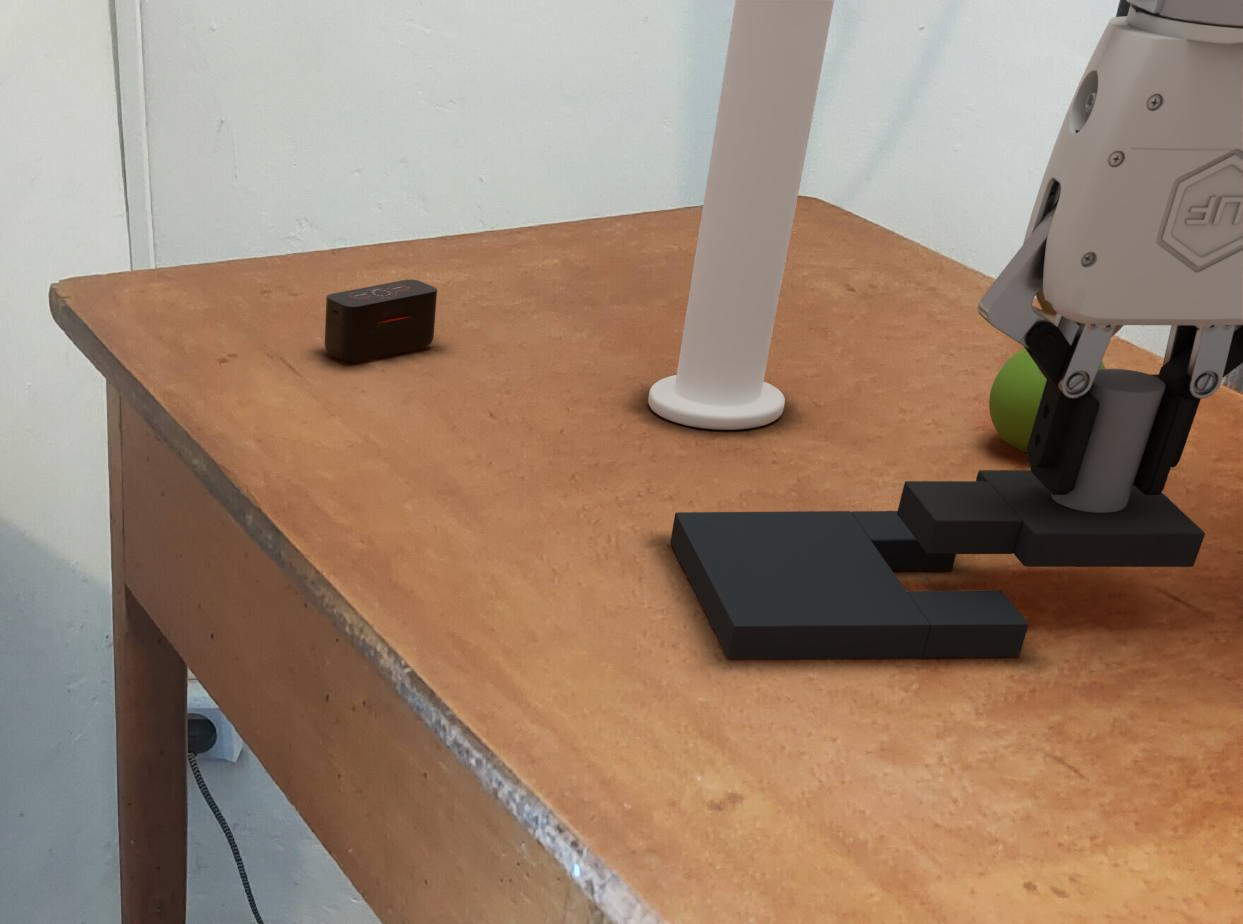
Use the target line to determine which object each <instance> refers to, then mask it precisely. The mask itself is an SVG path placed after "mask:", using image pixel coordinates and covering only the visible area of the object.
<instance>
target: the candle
mask: <svg viewBox="0 0 1243 924" xmlns="http://www.w3.org/2000/svg"><path fill="white" fill-rule="evenodd" d="M834 4H835V0H734V6H733V12H732V18H731V19H732V20H731V26H730V33H729V37H728V44H727V45H728V46H727V51H726V58H725V63H724V70H723V71H724V72H723V76H722V84H721V88H720V89H721V90H720V96H719V103H718V108H717V113H716V114H717V115H716V121H715V128H714V135H713V140H712V146H711V147H712V148H711V154H710V159H709V161H710V162H709V165H708V166H709V167H708V172H707V180H706V186H705V191H704V199H703V204H702V211H701V217H700V224H699V229H698V235H697V243H696V250H695V256H694V260H693V261H694V262H693V268H692V276H691V280H690V286H689V293H688V294H689V295H688V300H687V308H686V313H685V319H684V325H683V331H682V340H681V345H680V352H679V358H678V365H677V370H676V374H674V375H670V376H666V377H663V378H661V379H660V380H658V381H656V382H654V383H653V385H652V386H651V387H650V389H649V392H648V397H647V403H648V406H649V408H650V409H651V411H652V412H654V413H655V414H656V415H658V416H660V417H661V418H663V419H665V420H667V421H670V422H673V423H676V424H680V425H684V426H686V427H693V428H697V429H706V430H717V431H718V430H719V431H720V430H722V431H734V430H735V431H736V430H738V431H739V430H747V429H754V428H759V427H763V426H766V425H769V424H771V423H773V422H775V421H776V420H778V419H779V418H780V417H781V416H782V415H783V412H784V409H785V404H786V398H785V395H784V394H783V392H782V391H781V390H779V388H778V387H776V386H775V385H772V384H771V383H768V382H766V381H764V380H765V376H766V370H767V365H768V359H769V354H770V348H771V342H772V337H773V331H774V326H775V321H776V316H777V311H778V304H779V299H780V295H781V288H782V282H783V278H784V274H785V273H784V272H785V267H786V263H787V262H786V261H787V258H788V257H787V256H788V251H789V247H790V241H791V235H792V231H793V224H794V219H795V214H796V208H797V203H798V197H799V192H800V186H801V181H802V175H803V171H804V166H805V160H806V156H807V155H806V154H807V150H808V149H807V148H808V143H809V137H810V132H811V127H812V122H813V117H814V111H815V106H816V100H817V95H818V89H819V84H820V79H821V73H822V69H823V63H824V58H825V51H826V48H827V41H828V36H829V29H830V25H831V20H832V14H833V9H834Z"/></svg>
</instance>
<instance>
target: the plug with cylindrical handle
mask: <svg viewBox="0 0 1243 924" xmlns="http://www.w3.org/2000/svg"><path fill="white" fill-rule="evenodd" d="M1150 374H1151V373H1146V372H1143V371H1137V370H1132V369H1124V368H1106V369H1101V370H1098V371H1097V374H1096V376H1095V379H1094V383H1093V387H1092V390H1091V393H1090V394H1091V395H1093V396H1094V397H1095V398H1096V399H1097V400H1098V401H1099V409H1098V413H1097V416H1096V419H1095V423H1094V426H1093V429H1092V432H1091V436H1090V439H1089V442H1088V445H1087V448H1086V452H1085V455H1084V458H1083V461H1082V465H1081V468H1080V471H1079V474H1078V478H1077V481H1076V484H1075V487H1074V489H1073V491H1071V492H1069V493H1068V494H1067V495H1053V494H1052V493H1051V492H1050V491H1049V490H1048V489H1047V488H1046V487H1045V486H1044V485H1043V484H1042V483H1041V482H1040V481H1039V480H1038V479H1037V478H1036V477H1035V476H1034V474H1033V473H1032V472H1031V469H979V470H978V471H977V475H976V478H975V480H964V481H963V480H918V481H917V480H906V481H904V483H903V488H902V493H901V494H900V495H901V496H900V498H899V499H900V500H899V504H898V507H897V510H896V511H897V515H898V516H899V517H900V519H901V520H902V521H903V523H904V524H905V525H906V526H907V528H908V529H909V530H910V532H911V533H912V534H913V536H914V537H915V538H916V540H917V541H918V542H919V543H920V545H921V546H922V547H923V549H924V550H925V551H926V553H927V554H956V555H1014V556H1015V558H1017V560H1018V561H1019V562H1020V563H1021V565H1022V566H1023V567H1025V568H1064V567H1065V568H1066V567H1067V568H1193V567H1194V566H1195V564H1196V561H1197V558H1198V556H1199V553H1200V550H1201V547H1202V545H1203V542H1204V538H1205V536H1206V532H1205V531H1204V530H1203V529H1202V528H1201V527H1199V525H1197V523H1196V522H1195V521H1193V520H1192V519H1191V518H1190V517H1189V516H1188V515H1187V514H1186V513H1184V512H1183V511H1182V510H1181V509H1180V508H1179V507H1178V506H1177V505H1176V504H1175V503H1174V502H1173V501H1172V500H1171V499H1169V497H1167V496H1166V495H1165V494H1164V493H1163V492H1162V493H1161V494H1160V495H1145V494H1144V493H1143V492H1141V491H1140V490H1139V489H1138V488H1137V487H1135V486H1134V485H1133V484H1134V481H1135V478H1136V475H1137V472H1138V469H1139V466H1140V463H1141V460H1142V457H1143V454H1144V451H1145V448H1146V445H1147V442H1148V439H1149V436H1150V433H1151V429H1152V426H1153V423H1154V420H1155V417H1156V414H1157V411H1158V408H1159V405H1160V402H1161V399H1162V396H1163V393H1164V390H1165V383H1164V382H1163V381H1162V380H1161V379H1159V378H1157V377H1155V376H1152V375H1150Z"/></svg>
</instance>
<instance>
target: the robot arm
mask: <svg viewBox="0 0 1243 924" xmlns="http://www.w3.org/2000/svg"><path fill="white" fill-rule="evenodd" d="M1125 1H1126V3H1129V4H1130V5H1129V9H1128V12H1127V15H1126V16H1114V17H1111V18H1110V19H1109V20H1108V23H1107V25H1106V26H1105V29H1104V30H1103V32H1102V34H1101V36H1100V38H1099V40H1098V43H1097V44H1096V46H1095V48H1094V51H1093V53H1092V55H1091V57H1090V59H1089V61H1088V63H1087V65H1086V67H1085V69H1084V72H1083V74H1082V76H1081V78H1080V81H1079V82H1078V85H1077V87H1076V90H1075V92H1074V94H1073V97H1072V99H1071V101H1070V104H1069V107H1068V109H1067V112H1066V114H1065V116H1064V119H1063V121H1062V124H1061V127H1060V129H1059V132H1058V134H1057V137H1056V140H1055V142H1054V145H1053V148H1052V151H1051V153H1050V156H1049V159H1048V163H1047V165H1046V168H1045V170H1044V174H1043V176H1042V179H1041V183H1040V186H1039V189H1038V191H1037V195H1036V198H1035V201H1034V205H1033V207H1032V211H1031V213H1030V214H1031V215H1030V218H1029V220H1028V221H1029V222H1028V224H1027V228H1026V231H1025V236H1024V240H1023V243H1022V245H1021V247H1020V248H1019V249H1018V251H1017V252H1016V253H1015V254H1014V256H1012V258H1011V260H1010V261H1009V262H1008V264H1007V265H1006V266H1005V268H1004V269H1003V270H1002V271H1001V273H999V275H998V276H997V277H996V279H995V280H994V281H993V282H992V284H991V285H990V286H989V288H988V289H987V291H986V292H985V293H984V294H983V296H982V297H981V298H980V300H979V302H977V303H978V304H977V312H978V314H979V315H980V316H981V317H982V318H983V319H984V320H985V321H986V322H987V323H988V324H989V325H990V326H992V327H993V328H995V329H996V330H998V331H999V332H1001V333H1002V334H1004V335H1006V336H1007V337H1008V338H1010V339H1012V340H1013V341H1015V342H1016V343H1018V344H1020V345H1021V346H1023V348H1025V349H1026V351H1027V352H1028V353H1029V355H1030V356H1031V358H1032V359H1033V361H1034V362H1035V363H1036V365H1037V366H1038V369H1039V371H1040V373H1041V374H1042V375H1044V376H1045V378H1046V379H1047V380H1046V384H1045V387H1044V391H1043V394H1042V397H1041V401H1040V404H1039V408H1038V411H1037V415H1036V418H1035V422H1034V425H1033V429H1032V432H1031V436H1030V439H1029V443H1028V447H1027V452H1026V459H1027V462H1028V463H1029V465H1030V467H1029V468H1030V470H1031V472H1032V473H1033V474H1034V476H1035V477H1036V478H1037V479H1038V480H1039V481H1040V482H1041V483H1042V484H1043V485H1044V486H1045V487H1046V488H1047V489H1048V490H1049V491H1050V492H1051V493H1052V494H1053V495H1067V494H1068V493H1069V492H1071V491H1073V489H1074V487H1075V484H1076V481H1077V478H1078V474H1079V471H1080V468H1081V465H1082V461H1083V458H1084V455H1085V452H1086V448H1087V445H1088V442H1089V439H1090V436H1091V432H1092V429H1093V426H1094V423H1095V419H1096V416H1097V413H1098V409H1099V401H1098V400H1097V399H1096V398H1095V397H1094V396H1093V395H1091V394H1090V393H1091V390H1092V387H1093V383H1094V379H1095V376H1096V374H1097V371H1098V369H1099V367H1100V364H1101V362H1103V359H1104V357H1105V354H1106V351H1107V349H1108V347H1109V344H1110V342H1111V340H1112V337H1113V336H1112V334H1113V332H1114V329H1115V327H1116V325H1124V326H1170V329H1169V333H1168V340H1167V344H1166V347H1165V353H1164V357H1163V361H1162V366H1161V367H1160V369H1159V372H1158V374H1157V373H1156V374H1155V373H1154V374H1153V373H1152V374H1151V373H1149V374H1150V375H1152V376H1155V377H1157V378H1159V379H1161V380H1162V381H1163V382H1164V383H1165V390H1164V393H1163V396H1162V399H1161V402H1160V405H1159V408H1158V411H1157V414H1156V417H1155V420H1154V423H1153V426H1152V429H1151V433H1150V436H1149V439H1148V442H1147V445H1146V448H1145V451H1144V454H1143V457H1142V460H1141V463H1140V466H1139V469H1138V472H1137V475H1136V478H1135V481H1134V484H1133V485H1134V486H1135V487H1137V488H1138V489H1139V490H1140V491H1141V492H1143V493H1144V494H1145V495H1160V494H1161V493H1163V492H1164V489H1165V487H1166V483H1167V481H1168V477H1169V474H1170V472H1171V469H1172V468H1175V467H1177V465H1179V463H1180V461H1181V458H1182V456H1183V453H1184V450H1185V448H1186V447H1185V446H1186V444H1187V442H1188V439H1189V435H1190V433H1191V430H1192V426H1193V424H1194V420H1195V418H1196V415H1197V411H1198V409H1199V405H1200V402H1201V400H1202V399H1207V398H1208V397H1210V396H1213V395H1214V394H1215V393H1216V392H1217V391H1218V389H1219V388H1220V387H1221V384H1222V382H1223V379H1224V378H1225V377H1226V376H1227V375H1229V374H1230V373H1231V372H1233V371H1234V370H1235V369H1237V368H1238V367H1239V366H1241V365H1242V364H1243V0H1125ZM1038 292H1040V293H1044V298H1045V300H1047V301H1048V302H1049V303H1051V304H1052V307H1053V309H1054V310H1055V311H1056V312H1057V315H1056V317H1055V320H1054V322H1053V323H1052V322H1051V321H1050V320H1049V319H1047V318H1046V317H1045V316H1044V315H1043V314H1040V313H1039V312H1037V311H1036V310H1034V309H1033V306H1034V305H1033V301H1034V299H1035V298H1036V294H1037V293H1038Z"/></svg>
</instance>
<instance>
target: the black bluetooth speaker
mask: <svg viewBox="0 0 1243 924" xmlns="http://www.w3.org/2000/svg"><path fill="white" fill-rule="evenodd" d="M437 298H438V288H437V287H435V286H433V285H430V284H428V283H426V282H423V281H421V280H418V279H403V280H396V281H391V282H386V283H382V284H376V285H371V286H367V287H360V288H354V289H350V290H345V291H339V292H334V293H330V294H327V295H326V297H325V299H326V300H325V322H324V323H325V324H324V343H323V344H324V349H325V351H326V352H327V353H328V354H329V355H331V356H333V357H335V358H337V359H339V360H340V361H343V362H344V363H347V364H348V363H349V364H350V363H358V362H363V361H366V360H373V359H375V358H376V359H377V358H381V357H386V356H390V355H396V354H400V353H405V352H411V351H414V350H420V349H424V348H426V347H429V346H431V344H432V343H433V341H434V338H435V337H434V336H435V327H436V326H435V323H436V313H437V300H438V299H437Z"/></svg>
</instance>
